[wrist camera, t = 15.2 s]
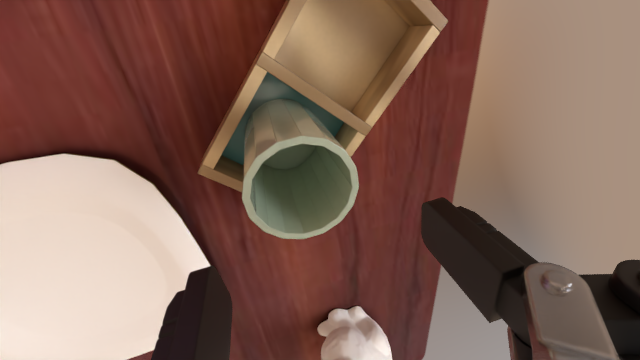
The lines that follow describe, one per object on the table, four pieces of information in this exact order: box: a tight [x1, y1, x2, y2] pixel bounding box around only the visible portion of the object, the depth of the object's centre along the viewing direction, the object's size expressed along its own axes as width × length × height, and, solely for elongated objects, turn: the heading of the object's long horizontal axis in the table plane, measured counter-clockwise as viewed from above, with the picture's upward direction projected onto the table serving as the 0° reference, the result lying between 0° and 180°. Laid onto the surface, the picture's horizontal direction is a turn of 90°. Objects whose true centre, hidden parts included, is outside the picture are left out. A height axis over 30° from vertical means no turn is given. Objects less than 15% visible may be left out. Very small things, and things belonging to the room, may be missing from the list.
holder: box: [198, 0, 448, 192], centre depth 20 cm, size 17×9×3 cm, turn 146°
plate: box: [0, 153, 211, 360], centre depth 23 cm, size 22×22×2 cm
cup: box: [242, 99, 359, 239], centre depth 18 cm, size 6×6×9 cm
